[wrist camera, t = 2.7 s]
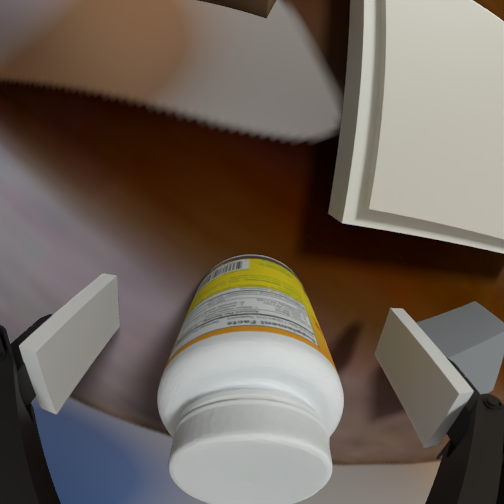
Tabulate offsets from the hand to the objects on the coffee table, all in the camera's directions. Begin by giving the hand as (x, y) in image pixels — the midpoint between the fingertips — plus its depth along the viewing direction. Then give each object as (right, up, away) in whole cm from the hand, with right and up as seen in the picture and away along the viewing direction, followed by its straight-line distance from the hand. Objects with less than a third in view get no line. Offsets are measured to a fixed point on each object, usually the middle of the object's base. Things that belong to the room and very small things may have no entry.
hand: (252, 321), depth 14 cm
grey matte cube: (+13, -3, +3) cm, 13 cm away
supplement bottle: (0, +1, +2) cm, 2 cm away
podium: (+11, +11, -1) cm, 16 cm away
